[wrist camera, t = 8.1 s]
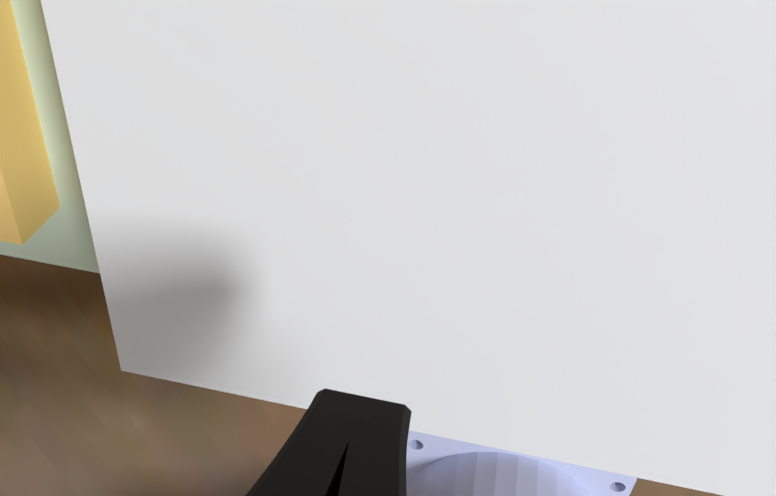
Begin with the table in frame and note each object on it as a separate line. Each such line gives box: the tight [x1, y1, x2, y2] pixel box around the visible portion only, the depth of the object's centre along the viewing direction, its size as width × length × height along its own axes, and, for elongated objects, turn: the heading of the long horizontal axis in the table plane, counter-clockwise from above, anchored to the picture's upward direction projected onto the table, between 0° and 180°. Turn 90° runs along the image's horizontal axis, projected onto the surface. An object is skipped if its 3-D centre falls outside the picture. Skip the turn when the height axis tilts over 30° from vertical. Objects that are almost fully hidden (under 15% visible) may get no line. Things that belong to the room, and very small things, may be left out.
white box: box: [41, 0, 776, 496], centre depth 17 cm, size 14×22×4 cm, turn 85°
